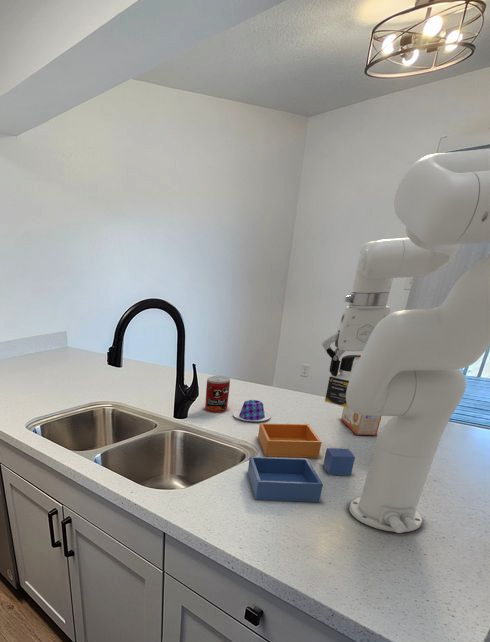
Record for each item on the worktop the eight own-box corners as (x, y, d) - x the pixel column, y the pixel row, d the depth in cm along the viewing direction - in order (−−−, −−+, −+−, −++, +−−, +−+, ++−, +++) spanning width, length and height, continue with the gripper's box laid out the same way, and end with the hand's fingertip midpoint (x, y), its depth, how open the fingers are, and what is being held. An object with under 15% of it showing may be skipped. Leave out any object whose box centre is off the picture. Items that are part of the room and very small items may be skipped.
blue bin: (319, 502, 96) (323, 484, 94) (255, 499, 99) (258, 481, 97) (304, 475, 108) (307, 458, 106) (247, 473, 110) (249, 456, 108)
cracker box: (377, 436, 126) (397, 364, 117) (355, 435, 128) (372, 364, 118) (360, 419, 139) (377, 353, 129) (340, 419, 140) (355, 353, 130)
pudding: (259, 409, 152) (261, 395, 149) (278, 421, 141) (280, 405, 139) (226, 413, 150) (228, 398, 148) (243, 425, 140) (245, 409, 138)
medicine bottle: (323, 401, 114) (333, 355, 109) (343, 397, 117) (353, 352, 112) (348, 408, 109) (359, 360, 103) (368, 404, 111) (379, 356, 106)
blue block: (350, 475, 106) (355, 456, 104) (328, 474, 107) (332, 456, 105) (344, 466, 111) (348, 448, 109) (322, 465, 112) (326, 448, 109)
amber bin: (318, 457, 116) (321, 442, 114) (265, 456, 119) (267, 440, 116) (305, 438, 128) (308, 424, 125) (257, 437, 130) (259, 423, 128)
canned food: (204, 412, 153) (206, 381, 148) (205, 405, 159) (207, 375, 154) (227, 413, 151) (230, 382, 146) (227, 405, 157) (230, 375, 152)
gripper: (332, 303, 100) (318, 378, 108) (418, 300, 97) (396, 378, 104) (323, 300, 107) (310, 371, 115) (403, 297, 103) (384, 371, 111)
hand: (351, 374), depth 109 cm, fingers closed on medicine bottle, 7 cm apart
